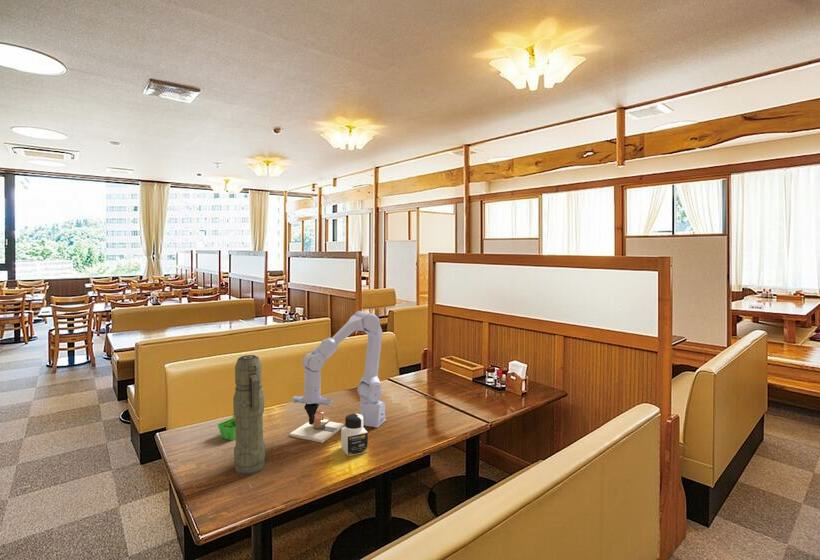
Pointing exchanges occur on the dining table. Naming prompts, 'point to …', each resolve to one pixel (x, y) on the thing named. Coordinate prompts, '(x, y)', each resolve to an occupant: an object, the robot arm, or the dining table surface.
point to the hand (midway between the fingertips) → (312, 423)
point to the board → (317, 431)
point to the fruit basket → (228, 429)
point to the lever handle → (320, 419)
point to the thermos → (248, 416)
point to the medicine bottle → (354, 435)
